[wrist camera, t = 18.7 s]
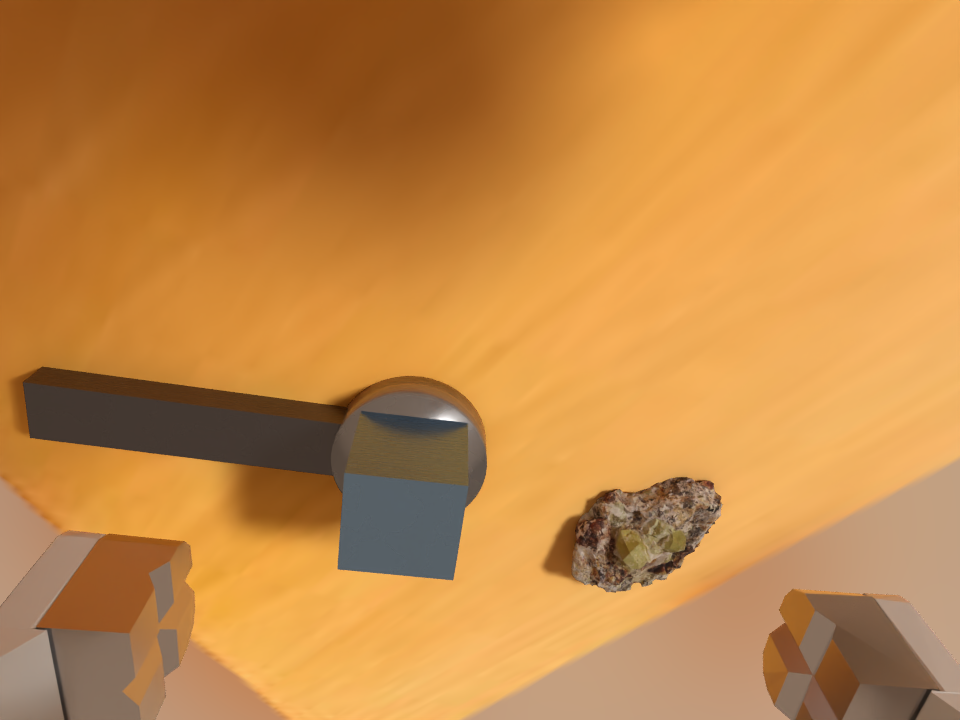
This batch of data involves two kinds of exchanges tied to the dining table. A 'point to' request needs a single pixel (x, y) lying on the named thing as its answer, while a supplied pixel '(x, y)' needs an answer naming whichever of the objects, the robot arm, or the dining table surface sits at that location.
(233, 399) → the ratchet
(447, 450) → the slate grey cube
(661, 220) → the dining table surface
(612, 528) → the mineral rock
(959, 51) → the dining table surface
